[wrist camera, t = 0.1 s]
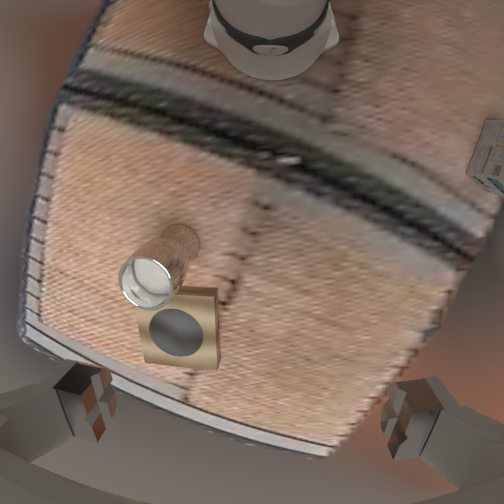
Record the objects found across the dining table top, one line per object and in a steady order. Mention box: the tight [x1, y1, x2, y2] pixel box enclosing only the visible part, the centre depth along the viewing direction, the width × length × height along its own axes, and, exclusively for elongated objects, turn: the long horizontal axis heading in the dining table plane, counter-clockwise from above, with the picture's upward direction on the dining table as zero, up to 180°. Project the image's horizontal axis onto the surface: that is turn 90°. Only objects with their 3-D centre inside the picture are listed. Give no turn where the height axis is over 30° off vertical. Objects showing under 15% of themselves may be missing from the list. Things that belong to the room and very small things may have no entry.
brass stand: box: [135, 286, 220, 370], centre depth 51 cm, size 14×13×3 cm
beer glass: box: [119, 225, 200, 311], centre depth 41 cm, size 7×7×15 cm
